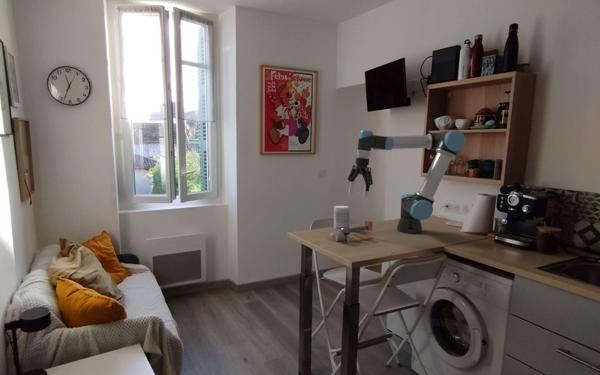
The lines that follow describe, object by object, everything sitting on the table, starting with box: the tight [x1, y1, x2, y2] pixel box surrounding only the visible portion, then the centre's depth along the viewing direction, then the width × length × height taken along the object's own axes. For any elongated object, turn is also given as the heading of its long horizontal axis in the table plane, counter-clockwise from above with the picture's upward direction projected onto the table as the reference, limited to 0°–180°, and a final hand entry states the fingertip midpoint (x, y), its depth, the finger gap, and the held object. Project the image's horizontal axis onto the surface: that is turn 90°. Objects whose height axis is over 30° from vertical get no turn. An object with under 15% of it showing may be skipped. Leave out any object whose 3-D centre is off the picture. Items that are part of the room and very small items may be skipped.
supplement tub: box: [333, 205, 350, 230], centre depth 216 cm, size 10×10×15 cm
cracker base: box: [326, 232, 383, 248], centre depth 189 cm, size 23×20×2 cm
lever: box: [335, 220, 373, 241], centre depth 190 cm, size 24×5×8 cm, turn 123°
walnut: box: [329, 231, 339, 241], centre depth 189 cm, size 5×5×4 cm
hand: (357, 194), depth 200 cm, fingers open, 13 cm apart
